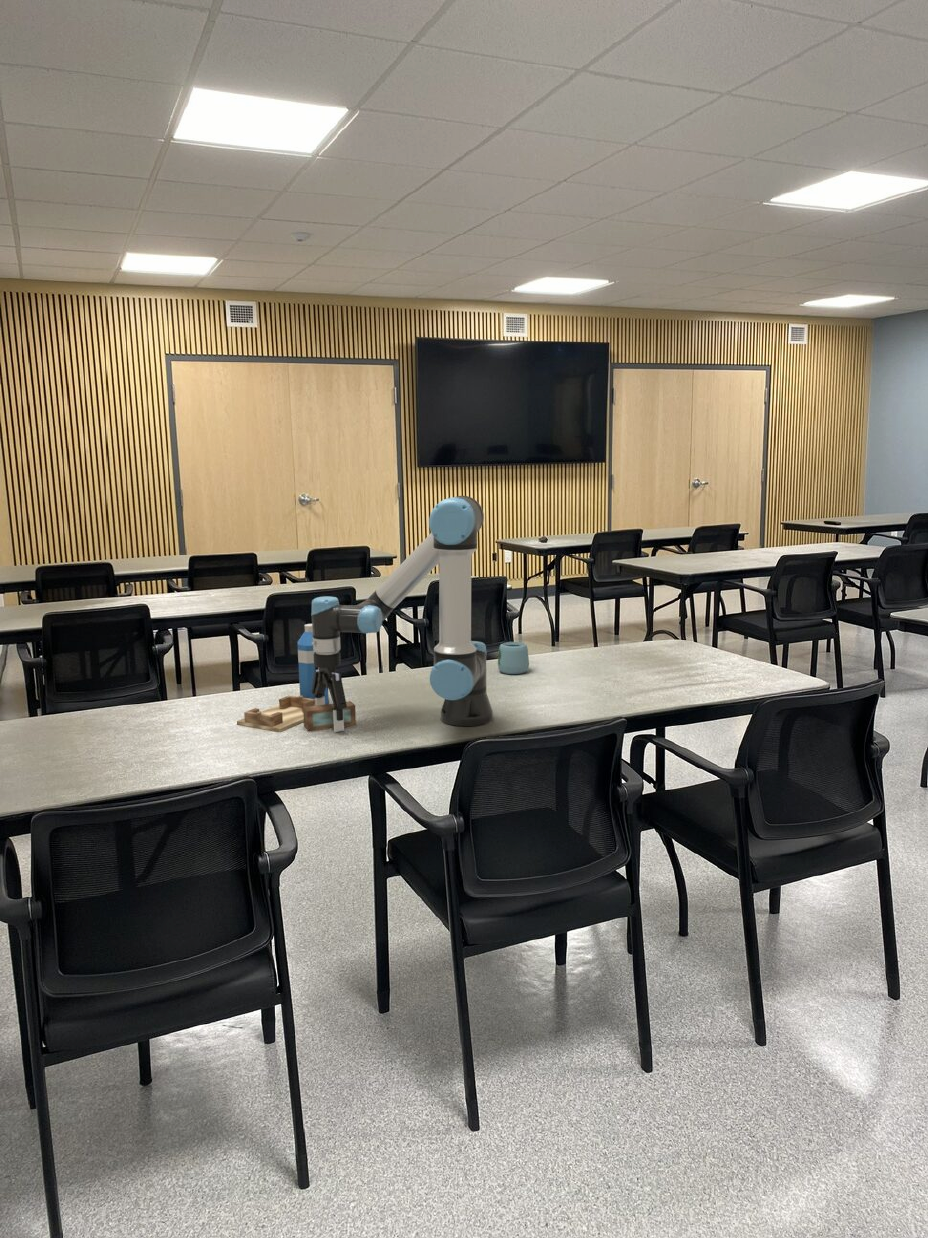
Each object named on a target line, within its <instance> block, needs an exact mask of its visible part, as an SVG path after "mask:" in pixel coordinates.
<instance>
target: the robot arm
mask: <svg viewBox="0 0 928 1238" xmlns="http://www.w3.org/2000/svg"><path fill="white" fill-rule="evenodd" d="M484 516H485V515H484V510H483V507H482V505H481V504H480V503H479V502H478V501H477V500H476V499H475V498H473V497H470V496H467V495H457V496H454V497H448V498H445V499H443V500H441V501H440V502H438V503H437V504H436V505H435V506H434V507H433V509H432V510H431V513H430V515H429V519H428V525H429V526H428V527H429V529H430V533H429V534H428V536H427V537H426V538H424V539H423V541H422V542H420V544H419V545H418V546H417V547H416V548H415V549H413V551H412V552H411V553H410V554H409V555H408V556H407V557H406V558H405V560H404V561H402V563H401V564H400V565H398V567H397V568H396V569H395V570H394V571H393V572H392V573H391V574H390V575H388V577H387V578H386V579H385V580H384V581H383V582H382V583H381V585H379V586H378V588H376V590H375V591H374V592H372V593H371V594H370V596H369V597H367V599H365V600H364V601H362V602H360V603H358V604H356V605H353V604H352V605H351V604H348V605H346V604H340V602H339V599H338V597H336V596H319V597H318V596H317V597H314V599H312V600H311V614H310V616H311V624H312V629H313V642H312V645H313V650H314V652H315V653H314V654H313V656H314V678H313V685H312V694H314V697H315V705H316V706H318V705H325V697H322V696H326V695H325V693H324V692H325V689H326V687H327V688H328V692H329V694H330V697H331V701H332V704H334V707H333V709H332V710H333V719H334V728H333V732H334V733H337V732H344V731H345V726H344V717H343V709H344V708H347V704H346V702H347V700H346V695H345V691H344V690H345V689H344V684H343V679H342V678H343V677H342V673H341V672H337V669H336V668H337V667H339V666H340V665H341V661H342V659H341V652H340V650H341V635H340V634H341V633H359V634H360V633H361V634H376V633H378V632H379V631H381V627H382V625H383V622H384V621H386V619H387V618H388V617H389V616H390V615H391V614H390V613H392V612H393V611H394V609H396V607H397V606H398V605H399V604H400V603H401V602H402V601H403V600H404V599H406V597H407V596H408V595H409V594H410V593H411V592H412V591H413V590H414V589H415V587H417V586H418V585H419V584H420V583H421V582H422V581H423V580H425V578H426V577H427V576H428V575H429V574H430V573H431V572H432V571H433V570H434V569H435V567H437V566H438V565H439V568H438V573H439V574H438V575H439V576H438V577H439V578H438V579H439V581H438V582H439V584H438V586H439V588H438V589H439V590H438V593H439V595H438V596H439V599H438V600H439V601H438V602H439V603H438V605H439V607H438V609H439V613H438V615H439V616H438V617H439V619H438V621H439V623H438V624H439V630H438V631H439V633H438V635H439V637H438V638H439V642H438V643H437V644H436V645H435V646H434V648H433V666H432V668H431V670H430V674H429V684H430V686H431V689H432V690H433V691H434V693H435V694H436V695H437V696H438V697H440V698H441V699H444V700H443V704H442V707H441V710H440V720H441V722H443V723H444V724H447V725H450V726H456V727H475V726H481V725H485V724H488V723H490V722H491V721H492V720H493V719H494V718H493V717H494V715H493V713H494V712H493V709H492V706H491V702H490V700H489V697H488V694H487V654H488V653H487V646H486V644H485V643H484V642H482V641H476V640H472V555H473V554H474V553H475V552H476V551H477V550H478V533H479V531H480V529H481V528H482V526H483V524H484V519H485V517H484Z"/></svg>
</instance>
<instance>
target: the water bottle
mask: <svg viewBox="0 0 928 1238" xmlns="http://www.w3.org/2000/svg"><path fill="white" fill-rule="evenodd" d="M312 642H313V629H312V623H307V624H304V632H303V633H302V635H300V638H299V639H298V640H297V658H298V659H297V660H298V661H297V662H298V681H299V696H300V695H302V696H303V698H309V699H315V697H314V694H312V685H313V678H314V656H313V654H314V653H315V652H314V650H313V645H312ZM324 693H325V695H326V696H322V697H325V704H330V702H329V701H330V699H329V689H328V688H327V687H326V689H325V692H324Z"/></svg>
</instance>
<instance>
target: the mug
mask: <svg viewBox="0 0 928 1238" xmlns="http://www.w3.org/2000/svg"><path fill="white" fill-rule="evenodd" d="M498 647H499V648H498V657H497V667H498V670H499V671H500V672H501V673H502V674H507V675H519V674H524V673H526V672H527V671H528V670H529V667H530V659H529V648H528V645H527V643H523V642H519V641H507V642H503V643H500V645H499V646H498Z"/></svg>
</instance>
